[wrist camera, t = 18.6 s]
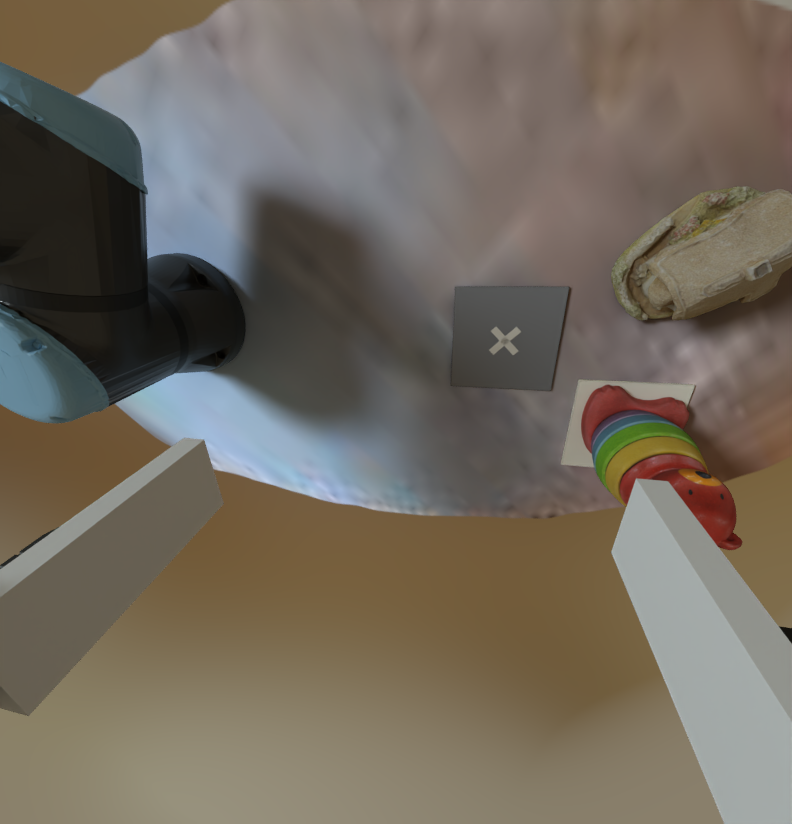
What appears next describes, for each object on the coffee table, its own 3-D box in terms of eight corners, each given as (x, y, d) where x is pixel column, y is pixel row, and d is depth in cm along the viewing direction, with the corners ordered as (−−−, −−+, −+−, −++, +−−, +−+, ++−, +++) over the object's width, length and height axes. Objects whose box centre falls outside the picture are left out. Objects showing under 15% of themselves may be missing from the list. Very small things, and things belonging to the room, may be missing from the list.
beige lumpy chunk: (762, 155, 31) (872, 127, 23) (792, 271, 35) (900, 285, 26) (595, 252, 37) (632, 260, 28) (634, 344, 40) (679, 376, 31)
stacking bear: (693, 401, 41) (824, 509, 25) (649, 470, 46) (736, 596, 30) (596, 380, 42) (665, 471, 26) (562, 450, 47) (604, 561, 31)
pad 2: (560, 462, 48) (561, 465, 48) (578, 379, 43) (579, 380, 42) (660, 471, 46) (662, 473, 46) (693, 384, 41) (695, 386, 40)
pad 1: (451, 384, 46) (450, 386, 46) (455, 286, 41) (455, 287, 41) (549, 389, 44) (550, 391, 44) (568, 286, 39) (569, 287, 38)
